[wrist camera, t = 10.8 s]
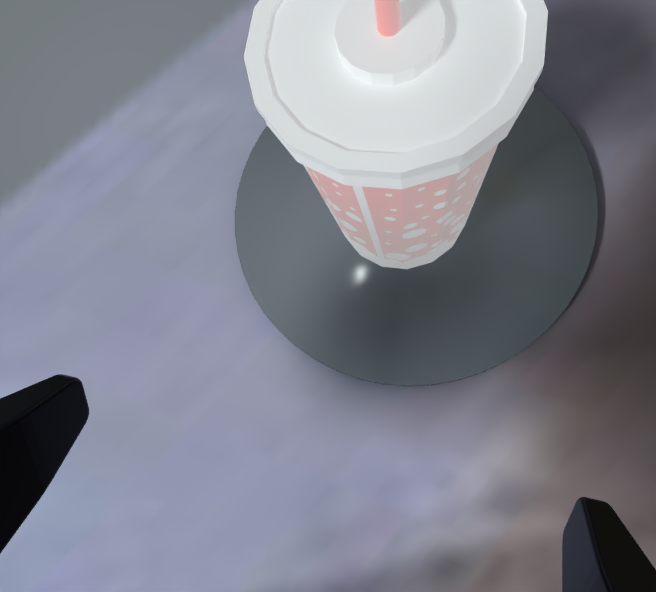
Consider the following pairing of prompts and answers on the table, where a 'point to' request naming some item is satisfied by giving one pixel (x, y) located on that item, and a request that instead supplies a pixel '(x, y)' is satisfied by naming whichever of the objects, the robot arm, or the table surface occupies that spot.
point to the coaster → (429, 279)
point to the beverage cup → (395, 107)
